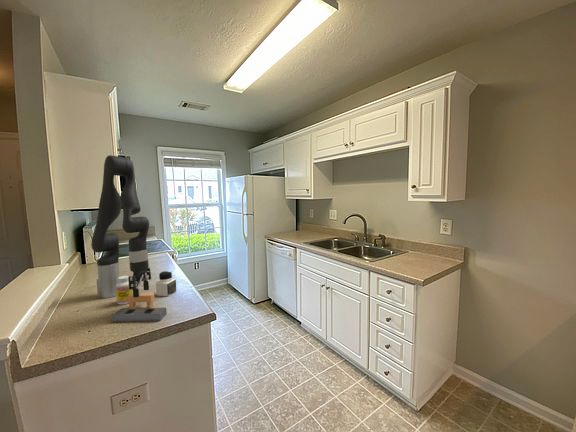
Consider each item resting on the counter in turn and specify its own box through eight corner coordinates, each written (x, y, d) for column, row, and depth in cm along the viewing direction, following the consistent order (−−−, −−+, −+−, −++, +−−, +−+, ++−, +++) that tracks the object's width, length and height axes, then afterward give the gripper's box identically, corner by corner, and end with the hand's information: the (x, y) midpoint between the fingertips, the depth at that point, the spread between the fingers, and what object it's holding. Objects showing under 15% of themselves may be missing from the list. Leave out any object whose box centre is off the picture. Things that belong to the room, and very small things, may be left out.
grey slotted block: (112, 322, 104) (111, 315, 104) (121, 315, 110) (120, 308, 110) (160, 320, 105) (159, 314, 104) (166, 314, 111) (166, 307, 110)
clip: (127, 309, 116) (126, 296, 115) (131, 306, 119) (130, 293, 118) (151, 309, 116) (150, 295, 115) (154, 306, 119) (154, 293, 118)
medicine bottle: (168, 296, 130) (166, 274, 129) (156, 295, 132) (154, 273, 131) (176, 291, 137) (175, 270, 136) (165, 290, 139) (164, 269, 138)
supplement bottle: (116, 306, 120) (114, 280, 118) (118, 301, 125) (116, 276, 124) (132, 303, 123) (130, 277, 122) (133, 298, 128) (131, 274, 127)
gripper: (139, 256, 122) (141, 288, 124) (120, 264, 108) (123, 300, 110) (154, 255, 123) (157, 287, 124) (138, 263, 108) (141, 299, 110)
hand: (141, 293), depth 117 cm, fingers open, 8 cm apart
